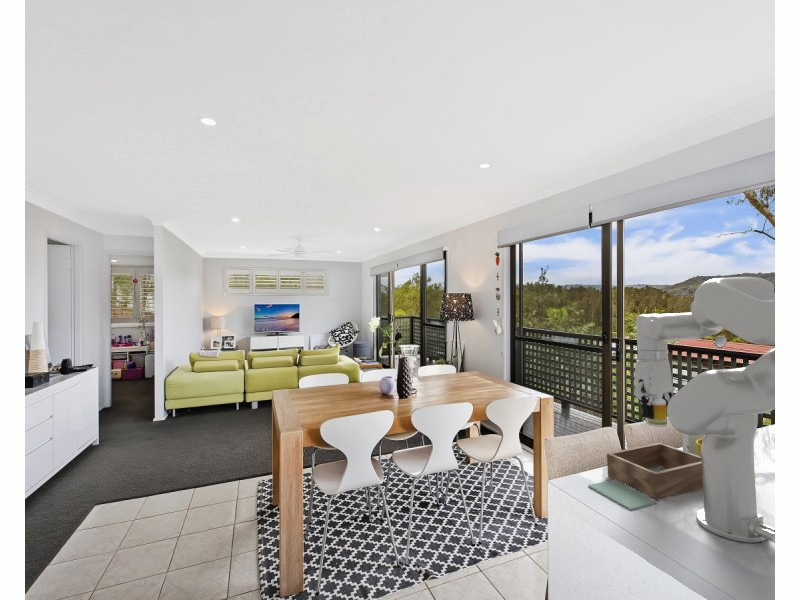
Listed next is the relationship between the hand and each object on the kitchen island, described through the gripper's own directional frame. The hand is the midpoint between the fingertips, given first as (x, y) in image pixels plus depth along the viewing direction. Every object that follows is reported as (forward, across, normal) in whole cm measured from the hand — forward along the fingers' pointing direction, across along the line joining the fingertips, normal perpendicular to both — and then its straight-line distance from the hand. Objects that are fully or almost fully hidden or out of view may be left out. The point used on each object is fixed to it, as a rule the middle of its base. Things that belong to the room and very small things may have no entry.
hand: (656, 415), depth 114 cm
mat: (+19, +17, +2) cm, 26 cm away
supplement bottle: (+3, 0, 0) cm, 3 cm away
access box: (+19, 0, 0) cm, 19 cm away
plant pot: (+19, -18, +5) cm, 27 cm away
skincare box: (+19, -22, -5) cm, 30 cm away
